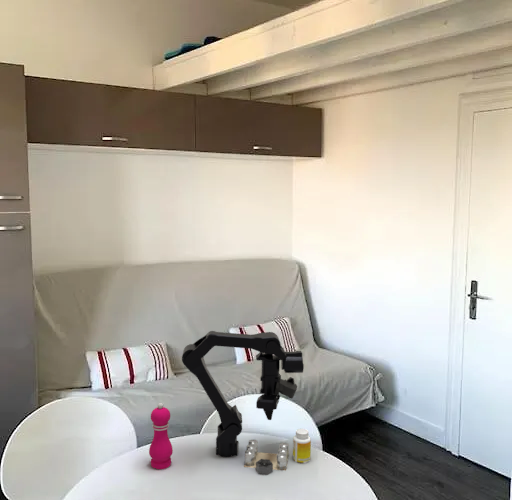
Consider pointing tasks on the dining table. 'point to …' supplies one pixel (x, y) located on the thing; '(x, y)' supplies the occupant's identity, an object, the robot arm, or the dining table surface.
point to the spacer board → (269, 457)
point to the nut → (264, 466)
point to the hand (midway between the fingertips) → (269, 419)
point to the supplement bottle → (301, 446)
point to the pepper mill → (160, 438)
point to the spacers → (253, 451)
